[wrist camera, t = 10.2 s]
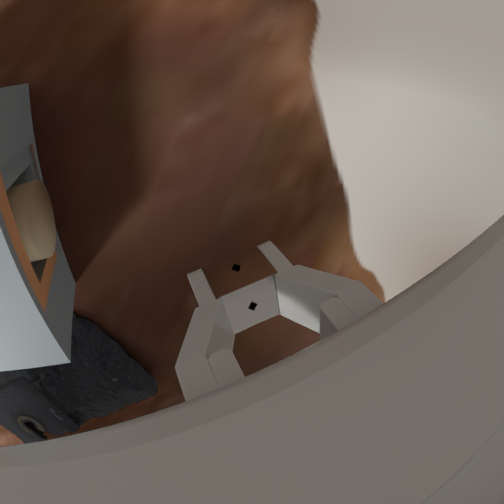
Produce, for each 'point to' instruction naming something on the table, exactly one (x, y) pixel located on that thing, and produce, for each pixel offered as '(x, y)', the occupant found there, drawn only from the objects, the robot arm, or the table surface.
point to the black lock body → (72, 387)
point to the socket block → (16, 259)
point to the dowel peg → (33, 218)
